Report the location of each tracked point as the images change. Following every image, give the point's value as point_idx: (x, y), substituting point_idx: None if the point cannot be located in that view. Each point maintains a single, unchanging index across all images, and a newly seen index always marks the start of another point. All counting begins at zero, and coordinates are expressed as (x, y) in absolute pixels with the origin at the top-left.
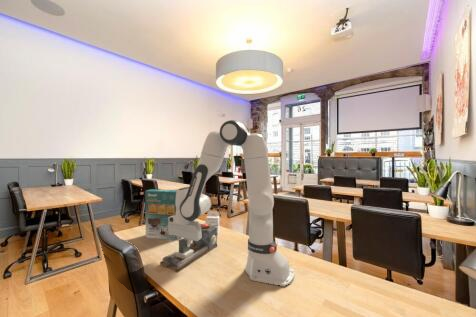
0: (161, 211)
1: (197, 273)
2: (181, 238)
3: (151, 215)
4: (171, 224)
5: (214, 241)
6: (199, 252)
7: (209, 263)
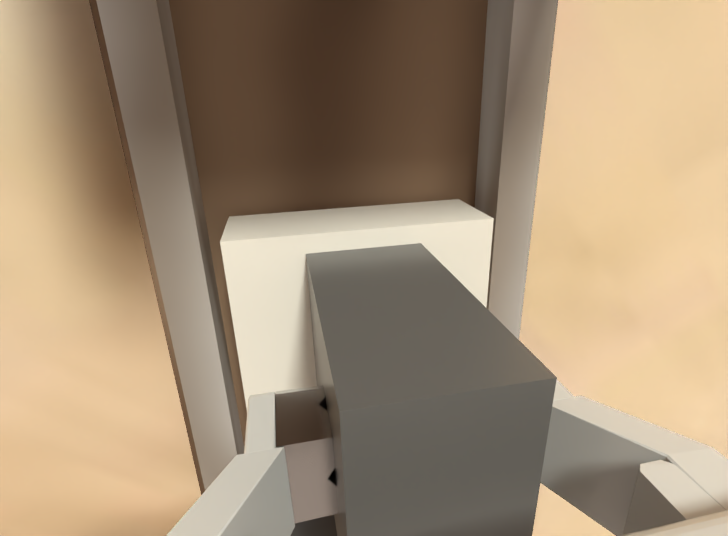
0: None
1: (647, 377)
2: (251, 511)
3: None
4: None
5: None
6: (534, 120)
7: (685, 171)
